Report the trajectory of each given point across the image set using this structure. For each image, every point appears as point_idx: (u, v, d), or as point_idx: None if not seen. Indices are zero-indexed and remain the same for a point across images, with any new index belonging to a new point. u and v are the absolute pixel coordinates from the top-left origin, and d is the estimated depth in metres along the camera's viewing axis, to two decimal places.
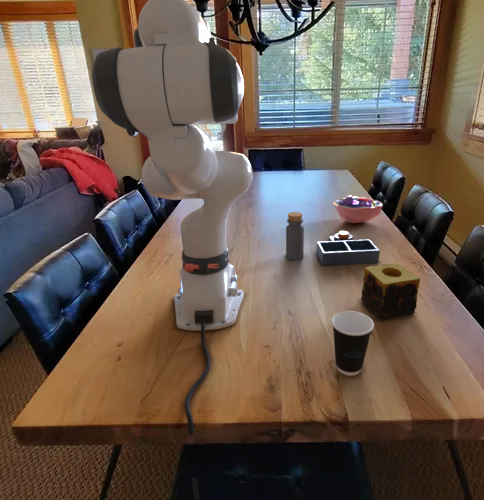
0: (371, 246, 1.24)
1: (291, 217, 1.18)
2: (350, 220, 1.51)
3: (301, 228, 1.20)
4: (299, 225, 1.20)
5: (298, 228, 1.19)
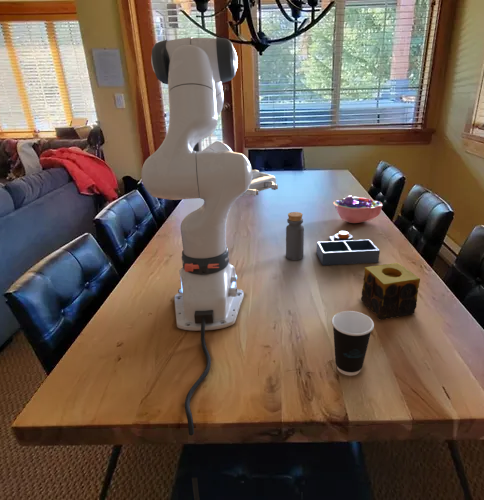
0: (371, 246, 1.24)
1: (291, 217, 1.18)
2: (350, 220, 1.51)
3: (301, 228, 1.20)
4: (299, 225, 1.20)
5: (298, 228, 1.19)
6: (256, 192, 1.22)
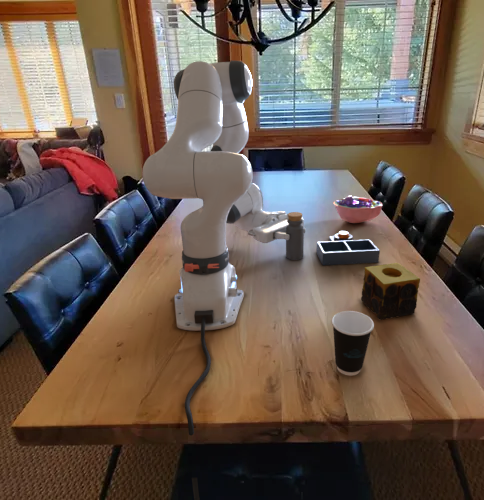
0: (371, 246, 1.24)
1: (291, 217, 1.18)
2: (350, 220, 1.51)
3: (301, 228, 1.20)
4: (299, 225, 1.20)
5: (298, 228, 1.19)
6: (289, 236, 1.19)
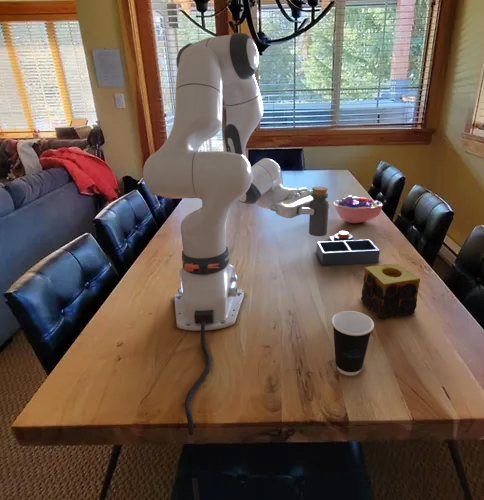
0: (371, 246, 1.24)
1: (315, 191, 1.14)
2: (350, 220, 1.51)
3: (326, 203, 1.16)
4: (324, 200, 1.15)
5: (323, 203, 1.15)
6: (314, 211, 1.15)
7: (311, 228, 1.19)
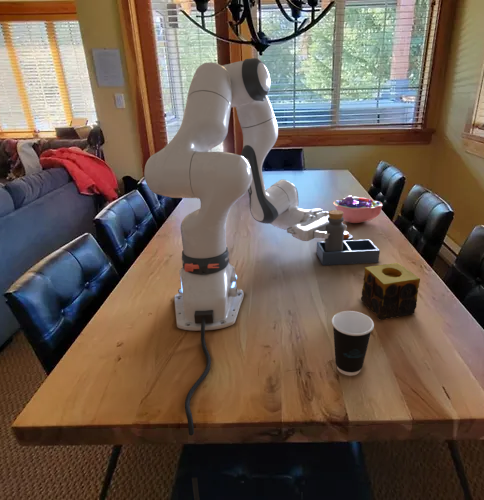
0: (371, 246, 1.24)
1: (332, 215, 1.16)
2: (350, 220, 1.51)
3: (342, 226, 1.18)
4: (340, 223, 1.18)
5: (339, 226, 1.17)
6: (328, 235, 1.16)
7: (327, 251, 1.21)
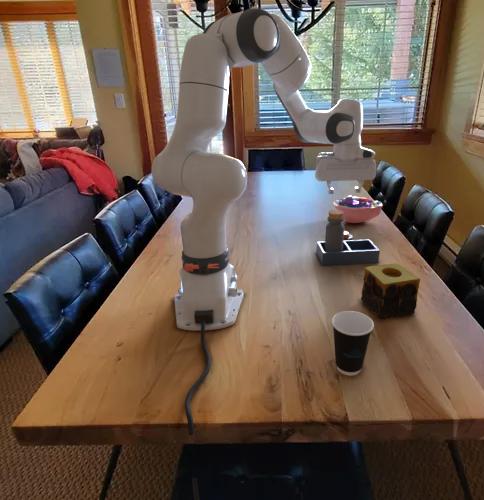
0: (371, 246, 1.24)
1: (332, 215, 1.16)
2: (350, 220, 1.51)
3: (342, 226, 1.18)
4: (340, 223, 1.18)
5: (339, 226, 1.17)
6: (330, 193, 1.28)
7: (327, 251, 1.21)
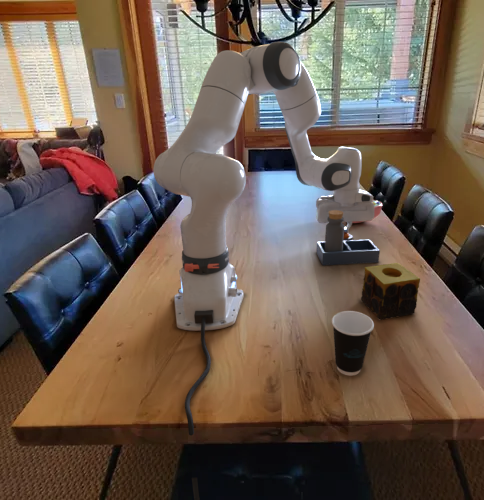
0: (371, 246, 1.24)
1: (332, 215, 1.16)
2: None
3: (342, 226, 1.18)
4: (340, 223, 1.18)
5: (339, 226, 1.17)
6: None
7: (327, 251, 1.21)
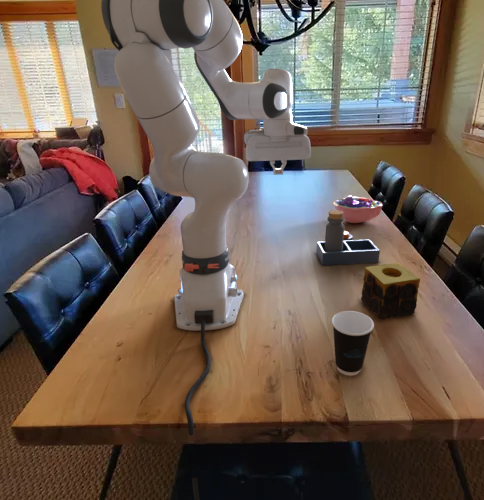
0: (371, 246, 1.24)
1: (332, 215, 1.16)
2: (350, 220, 1.51)
3: (342, 226, 1.18)
4: (340, 223, 1.18)
5: (339, 226, 1.17)
6: (275, 174, 1.18)
7: (327, 251, 1.21)
